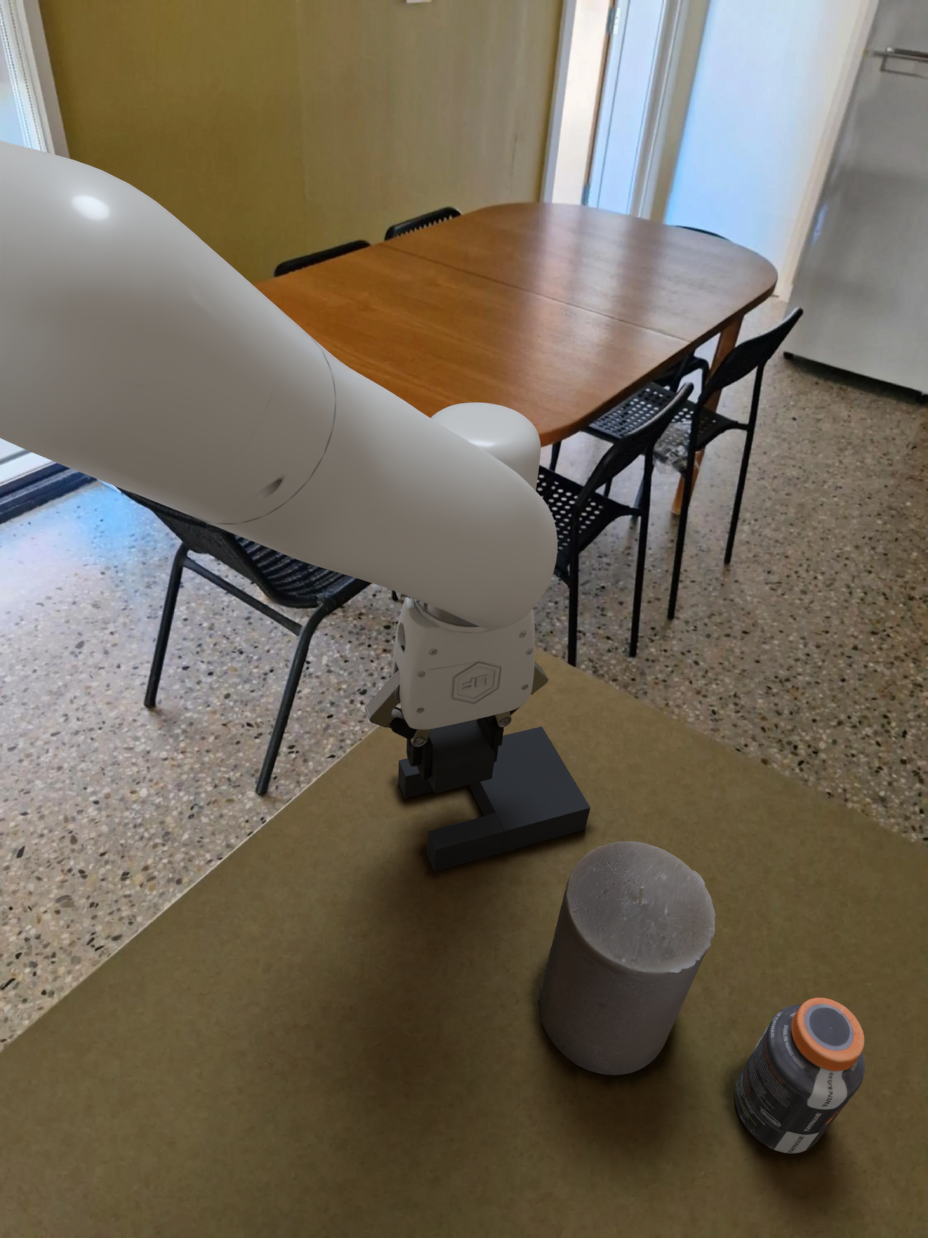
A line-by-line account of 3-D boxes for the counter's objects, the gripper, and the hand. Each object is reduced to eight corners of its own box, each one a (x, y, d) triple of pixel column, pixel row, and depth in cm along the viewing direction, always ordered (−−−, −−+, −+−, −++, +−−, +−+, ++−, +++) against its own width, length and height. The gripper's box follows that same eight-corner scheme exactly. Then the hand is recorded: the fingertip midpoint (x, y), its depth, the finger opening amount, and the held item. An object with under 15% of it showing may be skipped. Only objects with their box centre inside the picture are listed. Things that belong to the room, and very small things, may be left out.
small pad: (434, 793, 71) (436, 768, 69) (414, 749, 74) (415, 724, 73) (492, 779, 72) (495, 754, 71) (470, 735, 76) (472, 711, 74)
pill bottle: (820, 1170, 58) (884, 1094, 50) (728, 1136, 59) (778, 1057, 52) (822, 1081, 62) (881, 999, 55) (736, 1051, 63) (783, 967, 56)
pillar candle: (512, 988, 66) (536, 867, 56) (611, 927, 70) (649, 806, 61) (596, 1106, 60) (639, 993, 50) (699, 1030, 64) (756, 914, 55)
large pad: (434, 872, 73) (435, 850, 71) (397, 782, 80) (398, 759, 78) (585, 829, 78) (590, 807, 76) (538, 748, 85) (542, 726, 83)
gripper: (364, 639, 56) (366, 819, 68) (602, 593, 61) (566, 768, 73) (334, 571, 61) (340, 749, 73) (556, 534, 67) (529, 705, 78)
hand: (453, 756), depth 73 cm, fingers closed on small pad, 5 cm apart
